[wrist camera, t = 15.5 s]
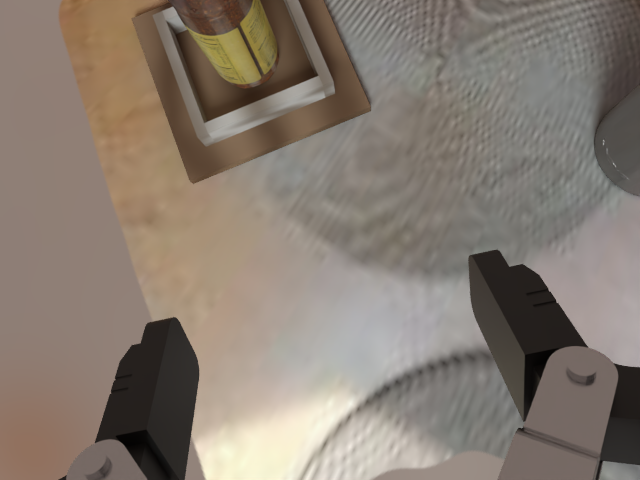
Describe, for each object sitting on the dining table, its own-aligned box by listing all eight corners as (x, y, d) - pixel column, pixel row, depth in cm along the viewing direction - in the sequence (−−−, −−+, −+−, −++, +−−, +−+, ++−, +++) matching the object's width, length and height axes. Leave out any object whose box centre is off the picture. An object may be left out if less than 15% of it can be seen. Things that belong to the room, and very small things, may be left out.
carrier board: (301, -46, 53) (296, -71, 50) (370, 110, 50) (370, 94, 46) (135, 24, 53) (119, 3, 50) (193, 183, 50) (180, 173, 47)
